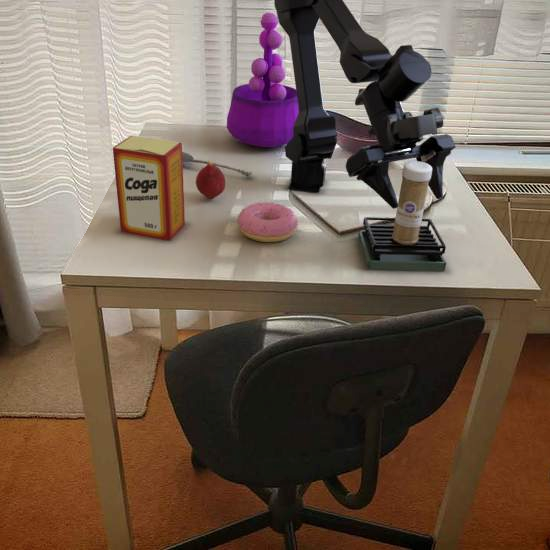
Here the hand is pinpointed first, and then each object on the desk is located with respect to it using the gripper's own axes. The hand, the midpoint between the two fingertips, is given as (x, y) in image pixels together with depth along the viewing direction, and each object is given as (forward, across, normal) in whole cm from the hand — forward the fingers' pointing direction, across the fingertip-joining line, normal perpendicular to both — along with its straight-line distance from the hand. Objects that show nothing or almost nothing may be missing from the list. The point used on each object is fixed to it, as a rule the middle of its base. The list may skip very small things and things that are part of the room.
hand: (418, 202), depth 99 cm
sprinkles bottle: (+4, 0, +7) cm, 8 cm away
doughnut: (-6, -17, +21) cm, 28 cm away
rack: (+6, 0, +9) cm, 11 cm away
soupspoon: (-28, -17, +43) cm, 54 cm away
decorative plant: (-35, +4, +51) cm, 62 cm away
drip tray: (+6, 0, +9) cm, 11 cm away
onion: (-17, -21, +33) cm, 43 cm away
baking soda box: (-12, -36, +28) cm, 47 cm away
